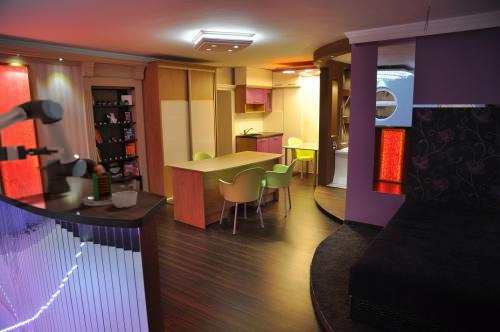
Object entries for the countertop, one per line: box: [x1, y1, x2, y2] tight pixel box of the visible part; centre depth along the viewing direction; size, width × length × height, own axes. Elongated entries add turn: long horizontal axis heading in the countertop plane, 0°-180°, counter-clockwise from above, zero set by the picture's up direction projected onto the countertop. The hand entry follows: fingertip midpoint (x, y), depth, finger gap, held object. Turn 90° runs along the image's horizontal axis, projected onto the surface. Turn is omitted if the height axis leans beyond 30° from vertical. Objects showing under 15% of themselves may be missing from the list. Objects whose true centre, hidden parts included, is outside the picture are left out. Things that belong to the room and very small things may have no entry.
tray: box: [82, 192, 114, 207], centre depth 203 cm, size 20×20×3 cm
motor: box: [91, 165, 112, 201], centre depth 202 cm, size 10×9×20 cm
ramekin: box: [112, 190, 138, 209], centre depth 193 cm, size 13×13×7 cm
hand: (62, 149), depth 193 cm, fingers open, 13 cm apart
